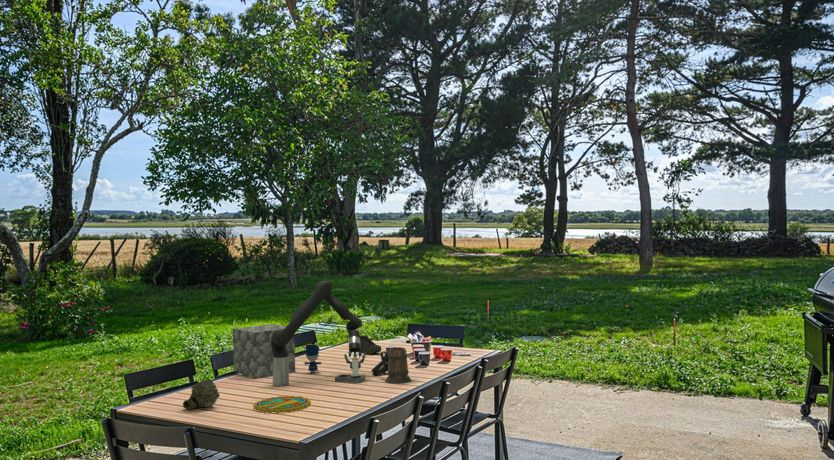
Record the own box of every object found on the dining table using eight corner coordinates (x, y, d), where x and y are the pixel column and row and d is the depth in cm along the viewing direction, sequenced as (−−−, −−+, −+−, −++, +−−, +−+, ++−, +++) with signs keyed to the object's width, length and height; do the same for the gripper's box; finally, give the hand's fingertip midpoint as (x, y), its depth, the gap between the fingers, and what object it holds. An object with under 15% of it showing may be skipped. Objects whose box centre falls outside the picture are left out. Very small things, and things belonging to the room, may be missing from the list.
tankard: (416, 379, 410) (416, 347, 410) (402, 384, 396) (402, 351, 396) (385, 376, 422) (384, 345, 422) (370, 381, 407) (369, 349, 407)
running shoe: (374, 356, 495) (374, 338, 496) (347, 352, 515) (347, 335, 516) (385, 354, 504) (384, 336, 504) (358, 350, 524) (357, 333, 524)
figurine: (323, 371, 442) (323, 341, 442) (320, 374, 432) (319, 344, 432) (305, 371, 443) (304, 342, 443) (301, 374, 433) (300, 344, 434)
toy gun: (402, 365, 440) (392, 348, 435) (406, 366, 435) (396, 349, 431) (379, 386, 430) (368, 369, 425) (383, 388, 425) (372, 370, 421)
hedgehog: (216, 373, 359) (191, 373, 348) (224, 395, 352) (199, 396, 340) (199, 393, 366) (174, 394, 355) (206, 415, 358) (181, 417, 347)
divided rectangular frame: (358, 383, 403) (358, 378, 403) (334, 381, 410) (334, 376, 410) (365, 380, 410) (364, 375, 410) (341, 379, 417) (341, 374, 417)
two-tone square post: (358, 376, 407) (358, 357, 407) (352, 376, 406) (351, 358, 406) (358, 374, 411) (358, 356, 411) (352, 375, 410) (351, 357, 410)
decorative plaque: (277, 412, 331) (241, 403, 350) (277, 417, 331) (241, 408, 350) (322, 399, 354) (286, 392, 373) (322, 404, 354) (286, 397, 373)
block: (254, 379, 424) (253, 332, 424) (233, 373, 446) (232, 328, 447) (295, 372, 444) (294, 327, 444) (273, 366, 466) (272, 324, 466)
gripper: (343, 342, 415) (343, 365, 403) (365, 341, 417) (366, 364, 405) (343, 349, 421) (344, 372, 408) (365, 348, 422) (366, 371, 410)
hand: (355, 368), depth 407 cm, fingers closed on two-tone square post, 4 cm apart
